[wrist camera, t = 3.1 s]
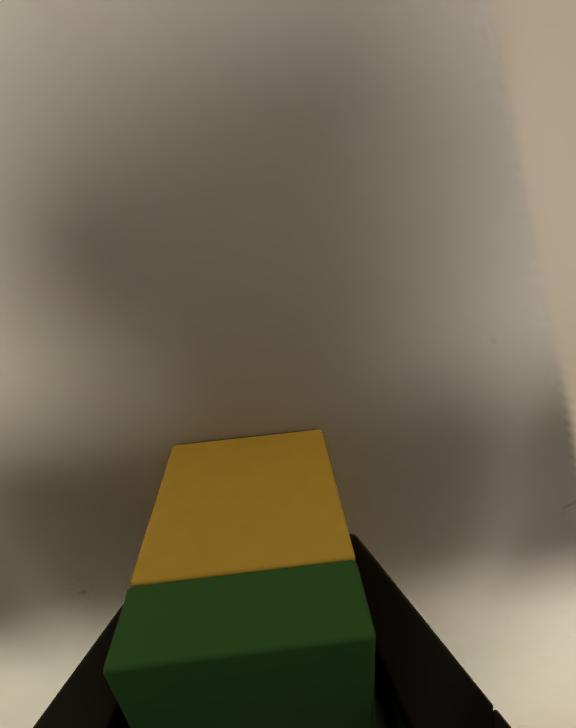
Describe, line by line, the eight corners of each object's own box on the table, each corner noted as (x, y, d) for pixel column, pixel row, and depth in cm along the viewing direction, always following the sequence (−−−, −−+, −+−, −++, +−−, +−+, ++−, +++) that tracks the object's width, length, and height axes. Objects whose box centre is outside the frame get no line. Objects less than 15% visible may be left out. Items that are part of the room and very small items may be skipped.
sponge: (329, 577, 10) (372, 808, 6) (209, 591, 10) (181, 834, 6) (321, 428, 8) (377, 637, 4) (171, 444, 8) (100, 672, 4)
